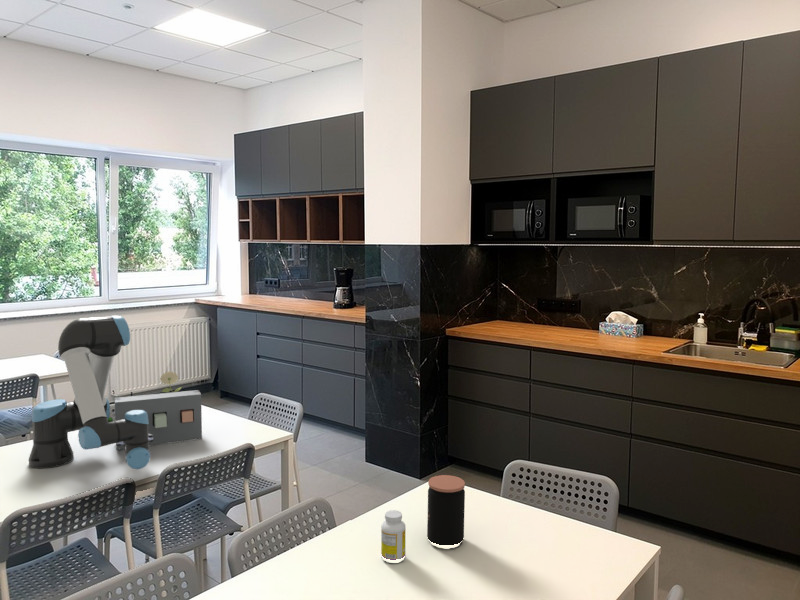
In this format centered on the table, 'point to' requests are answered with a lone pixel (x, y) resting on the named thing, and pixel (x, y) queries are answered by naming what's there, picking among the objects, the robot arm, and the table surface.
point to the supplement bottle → (393, 536)
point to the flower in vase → (169, 380)
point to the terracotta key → (186, 415)
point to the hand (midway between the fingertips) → (133, 428)
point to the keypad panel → (171, 407)
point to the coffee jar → (446, 510)
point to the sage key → (160, 420)
